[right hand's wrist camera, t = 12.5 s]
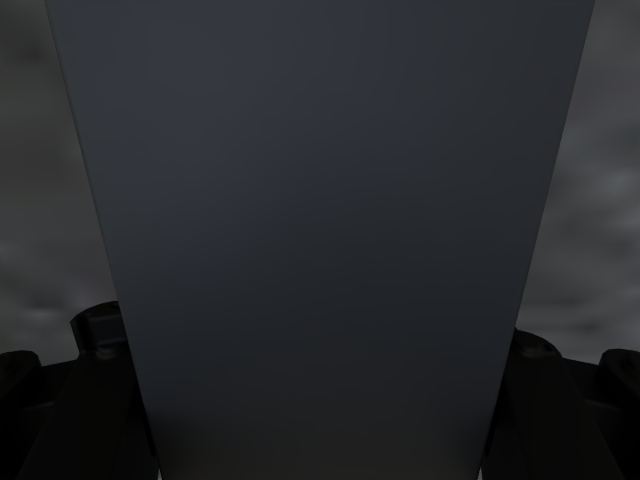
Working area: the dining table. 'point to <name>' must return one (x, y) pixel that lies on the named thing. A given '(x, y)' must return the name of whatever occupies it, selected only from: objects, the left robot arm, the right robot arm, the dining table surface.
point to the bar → (319, 218)
